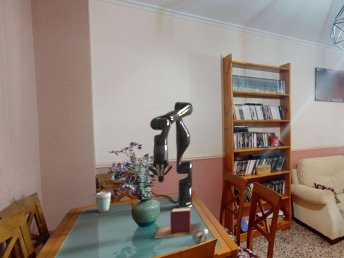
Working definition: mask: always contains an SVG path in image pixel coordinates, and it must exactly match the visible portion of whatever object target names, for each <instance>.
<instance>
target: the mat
mask: <svg viewBox="0 0 344 258" xmlns="http://www.w3.org/2000/svg"><path fill="white" fill-rule="evenodd" d="M199 226H200V223H191V229H190V232H180V233H170V225H167V226H159V227H158V229H157V230H156V232H155V234H154V237H153V239H159V238H160V239H161V238H170V237H179V236H180V237H181V236H182V237H183V236H191V235H193V234H194V233H195V232H196V229H197V230H199Z"/></svg>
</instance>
